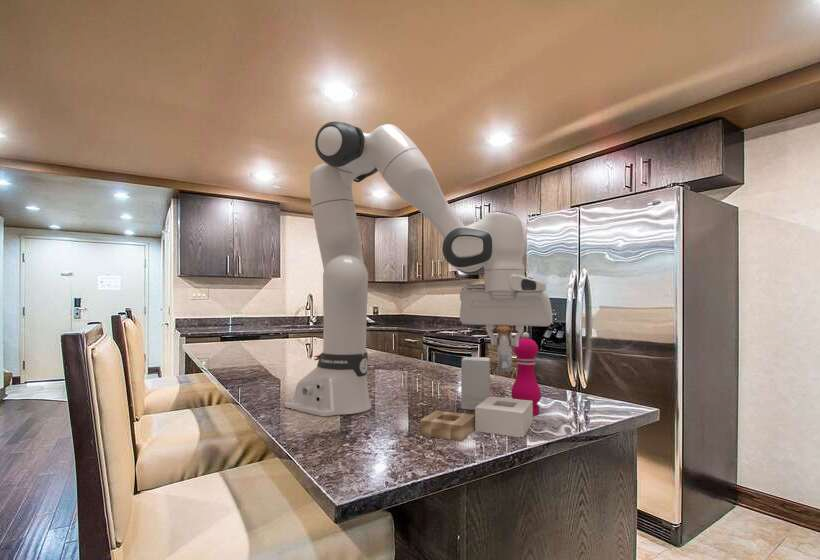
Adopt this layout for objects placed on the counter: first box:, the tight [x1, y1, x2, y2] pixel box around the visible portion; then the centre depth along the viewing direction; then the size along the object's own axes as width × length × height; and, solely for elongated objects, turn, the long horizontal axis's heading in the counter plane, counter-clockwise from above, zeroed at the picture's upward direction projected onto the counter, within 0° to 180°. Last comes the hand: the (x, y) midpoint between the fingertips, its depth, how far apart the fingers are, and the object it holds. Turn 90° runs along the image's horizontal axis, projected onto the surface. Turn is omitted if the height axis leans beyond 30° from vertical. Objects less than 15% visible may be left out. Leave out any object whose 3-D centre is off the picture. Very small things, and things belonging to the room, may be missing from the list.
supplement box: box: [460, 356, 491, 411], centre depth 112 cm, size 7×7×13 cm
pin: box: [495, 325, 514, 373], centre depth 94 cm, size 4×4×10 cm
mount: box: [419, 409, 475, 442], centre depth 90 cm, size 9×9×3 cm
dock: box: [474, 395, 534, 439], centre depth 94 cm, size 10×12×5 cm
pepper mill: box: [510, 331, 542, 416], centre depth 107 cm, size 7×7×20 cm
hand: (504, 346), depth 94 cm, fingers closed on pin, 3 cm apart
